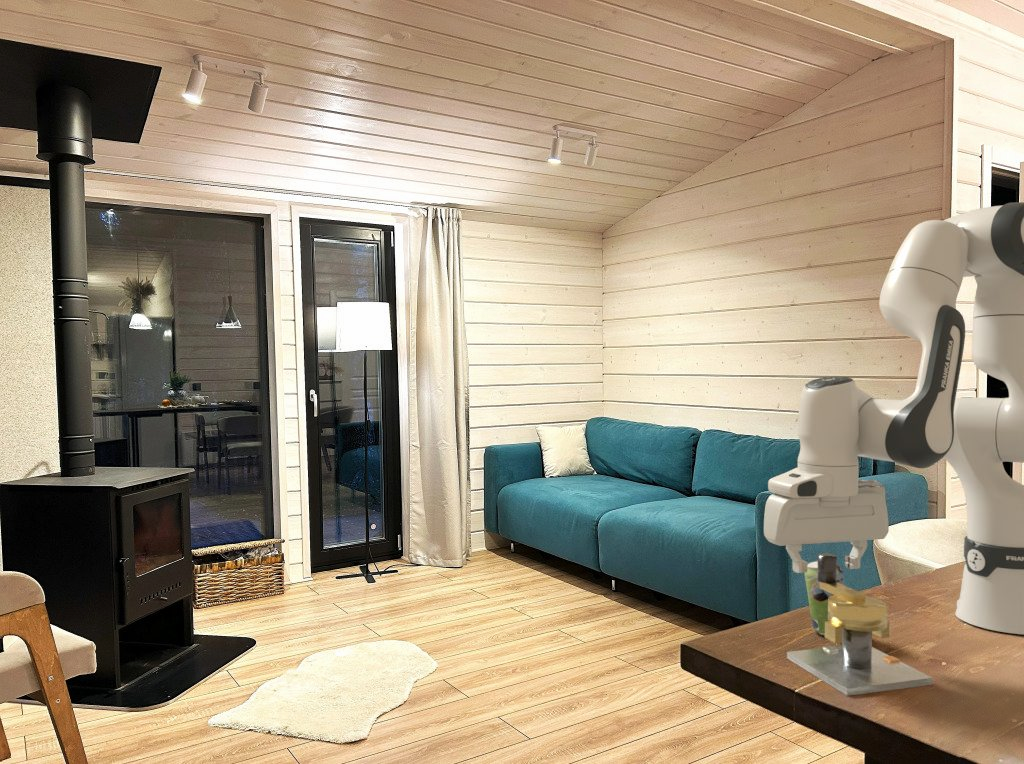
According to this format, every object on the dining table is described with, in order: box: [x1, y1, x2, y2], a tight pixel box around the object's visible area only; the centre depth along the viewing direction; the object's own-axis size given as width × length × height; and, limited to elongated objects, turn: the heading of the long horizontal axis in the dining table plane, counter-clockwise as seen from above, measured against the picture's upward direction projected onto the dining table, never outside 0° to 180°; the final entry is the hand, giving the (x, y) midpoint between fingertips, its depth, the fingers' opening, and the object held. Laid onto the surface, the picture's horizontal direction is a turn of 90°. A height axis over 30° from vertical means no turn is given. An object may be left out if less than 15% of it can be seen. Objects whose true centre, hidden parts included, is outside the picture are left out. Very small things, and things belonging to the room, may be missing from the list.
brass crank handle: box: [817, 552, 890, 644], centre depth 119 cm, size 9×12×10 cm
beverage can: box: [803, 560, 846, 636], centre depth 133 cm, size 6×7×12 cm
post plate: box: [786, 628, 933, 697], centre depth 117 cm, size 14×14×7 cm
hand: (826, 570), depth 124 cm, fingers open, 8 cm apart
